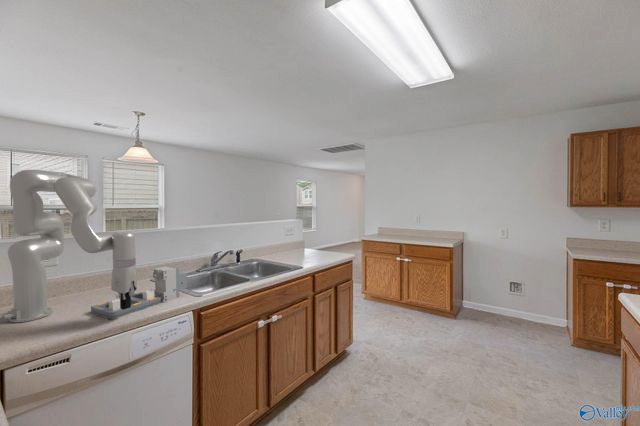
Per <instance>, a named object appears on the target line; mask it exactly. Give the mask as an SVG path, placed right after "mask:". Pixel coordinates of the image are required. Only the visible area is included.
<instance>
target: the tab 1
mask: <svg viewBox="0 0 640 426" xmlns="http://www.w3.org/2000/svg"><path fill="white" fill-rule="evenodd" d="M108 302H109V310H110V311H114V310H117V309H120V299H119V298H118V299H116V298H114V299H111V300H110V301H109V300H108Z"/></svg>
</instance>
